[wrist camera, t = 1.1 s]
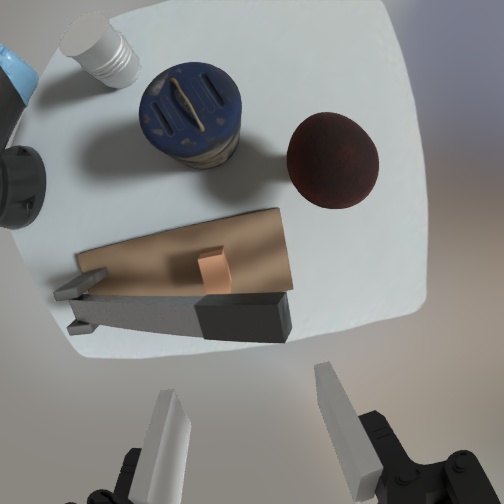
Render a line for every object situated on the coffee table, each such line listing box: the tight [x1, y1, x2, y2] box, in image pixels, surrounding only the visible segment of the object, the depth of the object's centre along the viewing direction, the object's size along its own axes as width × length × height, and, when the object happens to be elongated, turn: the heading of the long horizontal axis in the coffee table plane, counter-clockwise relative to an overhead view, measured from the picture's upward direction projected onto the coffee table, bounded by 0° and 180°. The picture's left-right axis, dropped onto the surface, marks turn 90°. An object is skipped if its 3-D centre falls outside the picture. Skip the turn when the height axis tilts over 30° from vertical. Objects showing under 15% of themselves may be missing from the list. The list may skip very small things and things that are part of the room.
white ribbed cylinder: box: [60, 11, 141, 89], centre depth 27 cm, size 7×7×15 cm
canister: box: [139, 62, 242, 169], centre depth 29 cm, size 10×10×18 cm
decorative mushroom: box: [287, 112, 379, 209], centre depth 32 cm, size 11×11×15 cm
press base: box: [53, 207, 293, 336], centre depth 36 cm, size 12×32×12 cm, turn 101°
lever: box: [69, 292, 292, 343], centre depth 26 cm, size 4×29×2 cm, turn 101°
